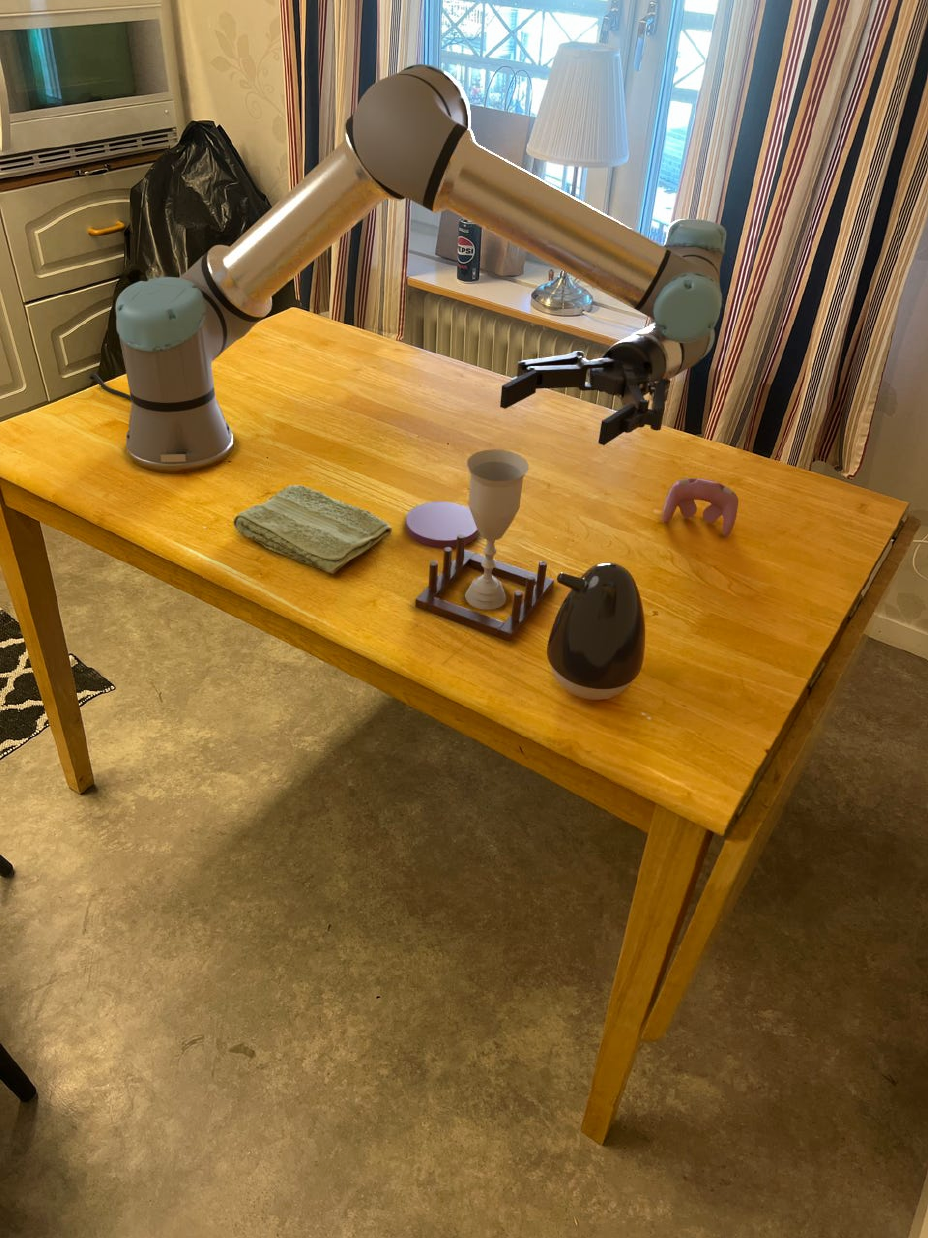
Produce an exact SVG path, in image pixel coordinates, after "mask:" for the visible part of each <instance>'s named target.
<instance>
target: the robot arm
mask: <svg viewBox="0 0 928 1238" xmlns="http://www.w3.org/2000/svg"><path fill="white" fill-rule="evenodd" d="M471 115H472V114H471V108H470V103H469V100H468V96H467V94H466V93H465V90H464V88H463V87H462V85H461V84H460V83H459V81H458V80H457V79H456V78H455V77H454V76H453V75H451V73H449V72H448V71H447V70H444V69H443V68H442V67H438V66H436V65H432V64H431V65H430V64H423V63H417V64H412V65H409V66H406V67H404V68H403V69H402V70H400V71H399V72H397V73H394V74H392V75H389V76H386V77H383V78H381V79H379V80H377V81H376V82H375V83H374V84H372V85H370V87H369V88H367V90H366V91H365V92H364V94H362V96H361V98H360V99H359V101H358V104H357V106H356V109H355V112H354V113H353V114H352V115H350V116H349V117H348V118H347V119H346V120H345V122H344V124H343V140H342V142H341V143H340V144H339V145H337V146H336V148H334V150H332V151H331V152H330V153H329V154H327V156H326V157H325V158H323V160H322V161H320V162H319V163H318V164H317V165H316V166H315V167H314V168H313V169H311V171H310V172H308V174H306V175H305V176H304V177H303V178H302V179H301V180H300V181H299V182H298V183H297V184H296V185H294V187H292V188H291V190H289V191H288V192H287V193H286V194H285V195H284V196H283V197H282V198H281V199H280V200H278V201H277V202H276V203H275V205H272V207H271V208H270V209H269V210H268V211H267V212H265V213H264V214H263V215H262V216H261V217H260V218H259V219H258V220H257V221H256V222H255V223H254V224H253V225H252V226H250V227H249V228H248V229H247V230H246V231H245V232H244V233H243V234H242V235H241V236H240V237H239V238H238V239H236V241H234V242H233V243H232V244H231V245H230V246H229V245H224V244H217V245H214V246H212V247H211V248H210V249H208V251H207V252H206V253H204V255H202V256H201V257H200V258H199V259H198V260H197V261H196V262H195V263H193V264H192V266H191V267H189V269H187V270H186V271H185V272H184V273H182V274H181V276H179V277H174V276H160V277H152V278H148V280H147V281H146V280H145V281H143V280H140V281H137V282H134V283H132V284H131V285H129V286H127V287H126V288H125V289H124V290H123V289H122V291H121V292H120V293H119V295H118V297H117V299H116V301H115V316H116V320H115V321H116V322H115V325H116V326H115V327H116V332H117V334H118V337H119V342H120V343H119V344H120V347H121V354H122V358H123V363H124V367H125V368H124V369H125V374H126V379H127V386H128V390H129V393H126V392H123V391H121V390H117V389H114V388H112V387H110V386H108V385H107V384H105V382H104V381H103V380H102V379H101V377H100V376H99V375H98V374H97V373H95V372H92V373H90V375H89V380H95V382H96V383H97V384H98V385H99V386H100V385H101V386H100V387H101V388H102V389H103V390H104V391H106V392H107V393H110V394H112V395H115V396H118V397H121V398H123V399H126V400H127V401H129V402H130V403H131V406H130V413H129V420H128V430H127V432H126V436H125V447H126V451H127V457H128V458H129V459H130V461H131V462H132V463H134V465H136V466H139V467H141V468H143V469H145V470H149V471H154V472H159V473H170V474H171V473H175V474H176V473H188V472H196V471H200V470H204V469H207V468H210V467H213V466H216V465H218V464H220V463H221V462H223V461H225V460H226V459H228V457H230V455H231V454H232V452H233V450H234V447H235V445H234V436H233V433H232V429H231V427H230V425H229V424H228V423H227V420H226V418H225V415H224V413H223V411H222V409H221V406H220V404H219V402H218V400H217V397H216V392H215V382H214V374H213V365H212V363H213V362H214V361H215V360H216V359H217V358H218V357H220V355H221V354H223V353H224V352H225V351H226V350H227V349H228V348H230V347H231V346H232V345H233V344H234V343H236V342H237V341H239V340H240V339H242V338H243V337H245V336H247V334H248V333H249V332H250V331H251V330H252V329H253V327H255V326H256V325H257V324H258V323H259V322H260V321H262V320H263V319H264V318H265V317H266V316H267V315H269V313H270V312H271V310H272V307H273V299H272V297H273V296H274V295H275V294H276V293H277V292H279V291H280V290H281V289H282V288H284V287H285V286H286V285H287V284H288V283H289V282H290V281H291V280H293V279H294V278H295V277H296V276H297V275H298V274H300V273H301V272H302V271H303V270H305V269H306V268H307V267H308V266H309V265H310V264H311V263H313V262H314V261H315V260H317V258H319V257H320V256H321V255H322V254H323V253H325V252H326V251H327V250H328V249H329V248H330V247H332V245H334V244H335V243H336V242H337V241H338V240H339V239H341V238H342V237H343V236H344V235H345V234H347V233H348V232H349V231H350V230H351V229H352V228H353V227H355V226H356V225H357V224H358V223H360V222H361V221H362V220H363V219H364V218H365V217H367V215H369V214H370V213H371V212H373V210H374V209H376V208H377V207H378V206H379V205H380V204H381V203H383V202H384V201H385V200H392V201H398V202H402V201H403V200H405V199H408V200H410V201H412V202H414V203H415V204H418V205H420V206H421V207H423V208H424V209H427V210H428V211H431V212H432V213H435V214H438V213H441V212H443V211H450V212H452V213H454V214H456V215H457V216H459V217H462V218H464V219H465V220H467V221H469V222H471V223H473V224H475V225H477V226H478V227H480V228H482V229H484V230H486V231H488V232H489V233H491V234H494V235H495V236H497V237H498V238H500V239H502V240H505V241H506V242H509V243H510V244H512V245H514V246H516V247H518V248H519V249H522V250H523V251H525V252H527V253H529V254H531V255H532V256H535V257H537V258H539V259H540V260H542V261H544V262H546V263H548V264H549V265H551V266H553V267H555V268H557V269H559V270H561V271H563V272H565V273H566V274H568V275H570V276H572V277H574V278H575V279H578V280H580V281H582V282H583V283H585V284H587V285H589V286H591V287H593V288H594V289H596V290H598V291H600V292H602V293H604V294H606V295H607V296H610V297H611V298H613V299H614V300H617V301H618V302H620V303H623V304H624V305H626V306H628V307H630V308H631V309H634V310H636V311H638V312H639V313H641V314H643V315H645V316H646V317H648V318H650V323H649V325H648V326H647V327H645V328H642V329H640V330H638V331H636V332H634V333H632V334H631V335H629V336H628V337H625V338H624V339H622V340H619V341H618V342H616V343H614V344H612V345H611V346H610V347H609V348H608V349H607V351H606V352H605V353H604V354H603V355H602V357H600V358H596V359H595V358H594V359H591V360H588V359H586V358H584V355H585V353H584V351H581V350H576V351H573V352H571V353H568V354H562V355H554V356H548V357H540V358H534V359H533V358H531V359H526V360H525V359H524V360H519V361H518V362H517V370H516V371H517V372H516V376H514V377H513V378H511V380H510V381H508V382H506V383H504V384H502V385H501V391H500V392H501V393H500V401H499V402H500V403H499V407H500V408H502V409H504V410H507V409H508V408H510V407H512V406H513V405H515V404H517V403H519V402H521V401H523V400H524V399H527V398H529V397H531V396H532V395H534V394H536V393H537V390H538V389H539V390H541V389H561V388H562V389H565V388H566V389H567V388H578V390H579V391H582V392H583V391H585V392H586V391H598V392H599V393H605V394H608V395H610V396H613V397H614V396H615V397H617V398H618V399H620V401H621V404H622V405H623V407H622V408H620V409H618V410H617V411H616V412H614V413H612V414H611V415H608V416H607V417H606V418H604V419H602V420H601V424H600V430H599V437H598V442H597V443H598V444H599V445H602V446H606V445H607V444H608V443H610V442H612V441H613V440H614V439H616V438H617V437H619V436H621V435H622V434H624V433H626V434H629V433H632V432H633V431H635V430H637V428H645V426H649V427H650V429H651V430H652V431H661V429H662V426H663V420H664V416H665V411H666V402H667V401H668V397H669V393H670V386H671V381H672V380H671V379H673V378H675V377H676V376H677V375H679V374H681V373H683V372H684V371H686V370H689V369H691V368H693V367H695V366H696V365H697V364H699V363H700V361H701V360H702V359H703V358H705V357H706V356H707V355H708V354H709V352H710V351H711V350H712V348H713V345H714V343H715V338H716V333H715V327H716V325H717V323H718V321H719V318H720V315H721V314H720V313H721V309H722V306H723V294H722V290H721V289H722V288H721V266H722V260H723V256H724V255H725V253H726V252H725V245H726V239H727V231H726V229H725V227H724V226H723V225H722V224H719V223H717V222H714V221H711V220H706V219H700V218H699V219H698V218H681V219H677V220H675V221H673V222H671V223H670V224H669V226H668V228H667V232H666V236H665V240H664V243H663V245H661V244H660V243H659V242H656V241H654V240H653V239H651V238H649V237H647V236H646V235H644V234H642V233H640V232H638V231H637V230H635V229H633V228H630V227H629V226H627V225H625V224H623V223H621V222H620V221H618V220H616V219H614V218H613V217H611V216H609V215H607V214H606V213H603V212H602V211H600V210H598V209H596V208H594V207H592V206H591V205H589V204H587V203H585V202H583V201H581V200H580V199H578V198H576V197H574V196H573V195H570V194H569V193H567V192H565V191H563V190H562V189H560V188H558V187H556V186H554V185H552V184H550V183H549V182H547V181H545V180H543V179H542V178H540V177H538V176H536V175H535V174H533V173H530V172H529V171H527V170H525V169H523V168H521V167H520V166H518V165H516V164H514V163H512V162H510V161H509V160H507V159H504V158H503V157H501V156H499V155H497V154H496V153H494V152H492V151H491V150H488V149H486V147H483V146H481V145H479V144H478V143H477V142H476V139H475V136H474V133H473V130H472V129H471V123H472V121H471V120H472V119H471V118H472V117H471ZM587 377H588V381H589V382H586V381H587ZM646 395H649V396H650V399H648V400H647V399H646V398H645V397H644V396H646ZM650 401H651V402H652V403H651V408H649V404H650Z"/></svg>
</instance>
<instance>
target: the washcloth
mask: <svg viewBox="0 0 928 1238" xmlns="http://www.w3.org/2000/svg"><path fill="white" fill-rule="evenodd" d="M232 523H233V527H234V528H235V530H236V531H237V533H238V534H239V535H241V536H243V537H245V538H247V539H250V540H253V541H255V542H256V543H258V544H259V545H262V546H263V547H264V548H265V549H266V550H270V551H272V552H274V553H277V554H279V555H282V556H285V557H287V558H290V559H292V560H295V561H297V562H299V563H302V564H305V565H308V566H310V567H313V568H316V569H320V570H322V572H326V573H327V574H331V575H335V574H336V572H337V571H339V570H340V569H342V567H344V566H346V565H347V564H348V563H349V562H350V561H352V560H353V559H355V558H357V557H358V556H362V555H363V553H365V552H367V551H368V550H370V549H371V548H372V547H374V546H375V545H376V544H377V543H378V542H380V541H381V540H382V539H384V538H385V537H386V536H389V535H390V534H391V533H392V531H393V530H392V527H391V526H390V525H389V524H388V522H387V521H386V520H385V521H384V520H383V519H381V518H379V517H378V516H377V515H375V514H374V513H372V512H371V511H369V510H366V509H362V508H360V507H357V506H353V505H352V504H349V503H347V502H343V501H342V500H338V499H335V498H332V497H331V496H329V495H326V494H325V493H323V492H322V491H318V490H316V489H312V488H309V487H307V486H305V485H301V484H300V485H298V484H291V485H289V486H286V487H285V488H283V489H282V490H280V491H279V492H277V493H275V494H274V495H272V496H270V497H269V498H268V500H267V501H265V502H263V503H260V504H254V505H253V506H251V507H249V508H247V509H246V510H242V511H241V512H239V513H237V515H236V516H235V517H234V518H233V522H232Z"/></svg>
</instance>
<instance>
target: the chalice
mask: <svg viewBox="0 0 928 1238" xmlns="http://www.w3.org/2000/svg"><path fill="white" fill-rule="evenodd" d="M466 467H467V469H468V471H469V474H470V478H469V491H468V508H470V511H471V514H472V518H473V520H474V522H475V524H476V526H477V529H478V531H479V535H480V537H481V538H482V539H484V540H486V544H485V547H484V548H483V549H482V552H483V553H484V556H485V557H486V558H485V560H484V561H483V562H482V563H481V565H482V566H483V567H484V571H483V574H482V575H479V576H477V577H476V578H474V579H473V580H472V582H471V584H470V585H469V587H468V589H467V590H466V592H464V593H465V594H464V596H465V597H464V599H465V601H466V602H467V603H468V604H469V605H470V606H472V607H473V608H476V609H479V610H485V611H486V610H487V611H491V610H496V609H498V608H501V607H502V606H504V605H505V603H506V601H507V596H506V593H505V589H504V588H503V584H502V582H501V581H500V580H499V579H498V578H497V576H495V575H492V573H491V572H492V569H493V568H494V567H495V566H496V563H495V562H494V561H493V559H494V556H495V555H496V554H497V552H498V551H497V548H496V545H495V541H497V540H500V539H502V538H503V537H504V535H505V534H506V532H507V531H508V529H509V527H511V525H512V524H513V521H514V519H515V518H516V515H517V513H518V511H519V509H520V507H521V500H522V499H521V497H522V489H523V483H524V482H523V481H524V477H525V476H526V474H527V472H528V471H529V463H528V461H527V460H526V458H524V457H523V456H521V455H520V454H518V453H515V452H513V451H510V450H505V449H485V450H481V451H478V452H475V453H473V454H472V455H470V456H469V458H467V460H466Z"/></svg>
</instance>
